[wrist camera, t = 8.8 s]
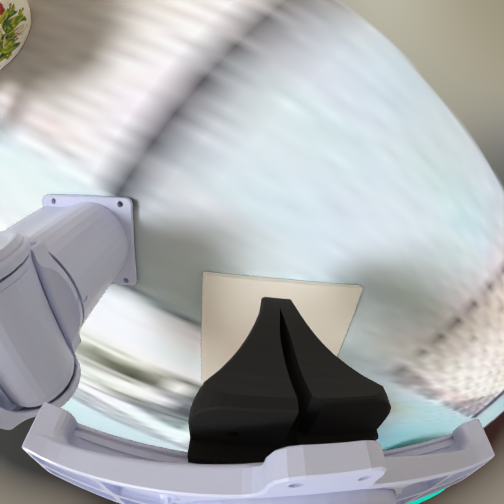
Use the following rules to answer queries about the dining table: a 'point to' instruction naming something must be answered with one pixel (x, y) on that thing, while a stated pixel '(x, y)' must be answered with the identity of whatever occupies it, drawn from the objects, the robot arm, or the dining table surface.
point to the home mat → (248, 305)
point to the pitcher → (13, 28)
